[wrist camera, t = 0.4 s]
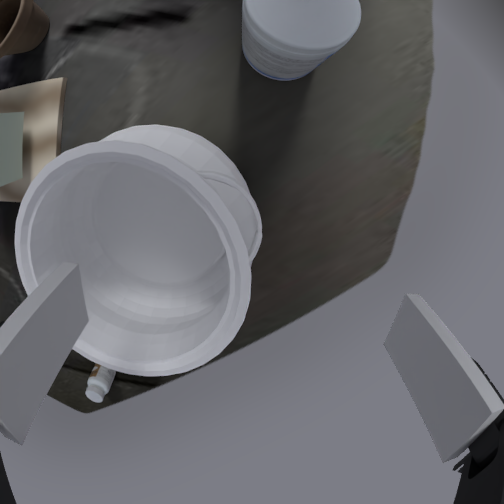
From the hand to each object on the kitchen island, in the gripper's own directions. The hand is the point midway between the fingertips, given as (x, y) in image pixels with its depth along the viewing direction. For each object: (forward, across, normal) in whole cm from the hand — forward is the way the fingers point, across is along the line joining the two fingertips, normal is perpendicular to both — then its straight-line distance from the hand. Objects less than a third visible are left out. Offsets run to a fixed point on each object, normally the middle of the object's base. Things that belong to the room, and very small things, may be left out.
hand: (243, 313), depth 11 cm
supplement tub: (+28, +3, +18) cm, 33 cm away
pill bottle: (+28, -22, -37) cm, 51 cm away
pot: (+28, -10, -6) cm, 30 cm away
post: (+27, -35, +4) cm, 44 cm away
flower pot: (+28, -34, +22) cm, 49 cm away
